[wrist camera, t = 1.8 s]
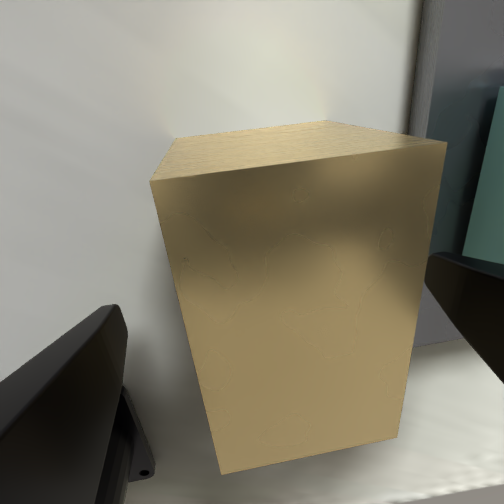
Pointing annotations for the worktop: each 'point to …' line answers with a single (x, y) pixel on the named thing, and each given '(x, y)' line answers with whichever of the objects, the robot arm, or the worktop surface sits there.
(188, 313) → the brass block
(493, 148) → the slide jaw
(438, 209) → the vise
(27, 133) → the worktop surface
